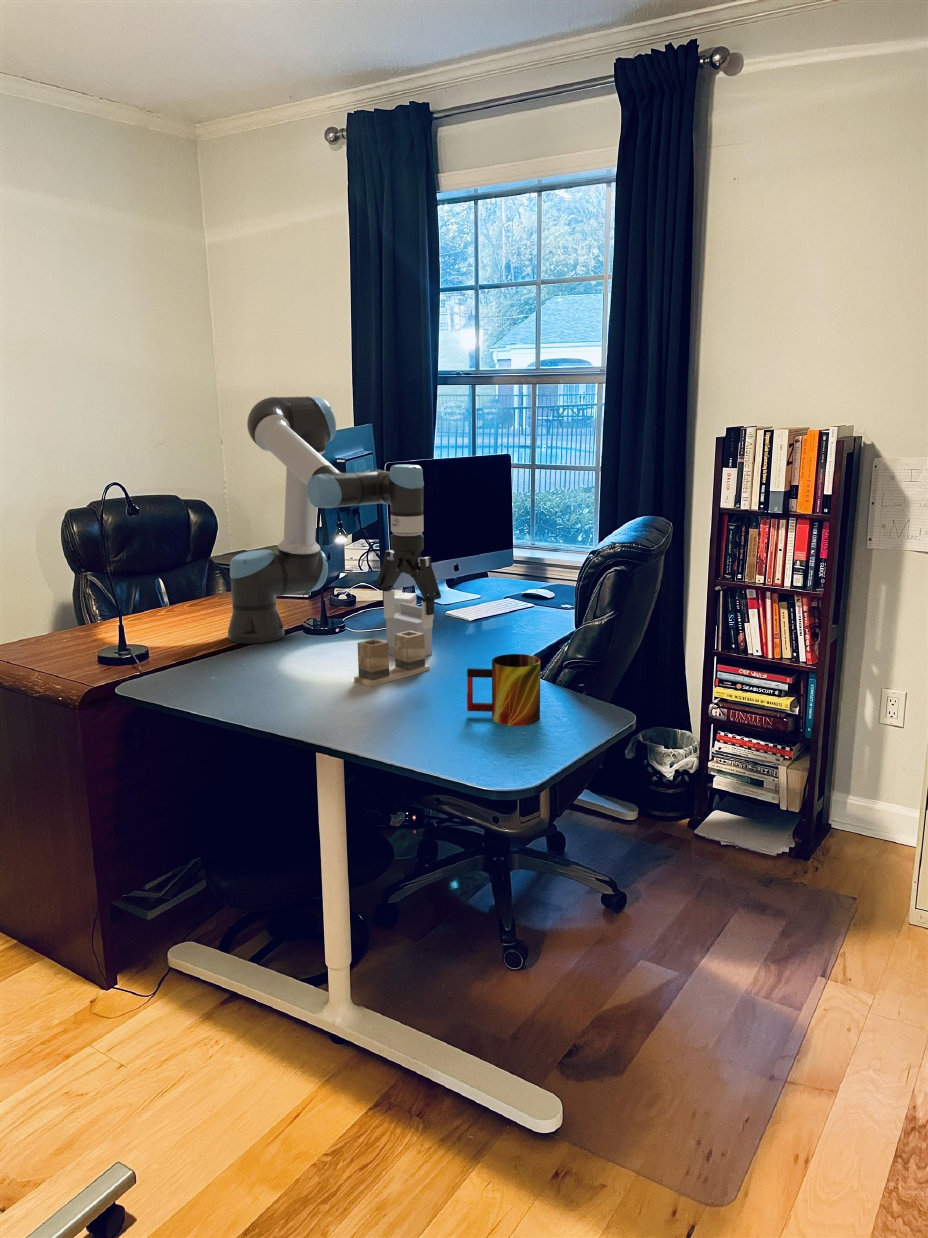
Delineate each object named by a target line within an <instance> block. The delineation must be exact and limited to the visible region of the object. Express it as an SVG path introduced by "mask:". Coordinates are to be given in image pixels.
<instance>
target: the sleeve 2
mask: <svg viewBox="0 0 928 1238" xmlns="http://www.w3.org/2000/svg"><path fill="white" fill-rule="evenodd" d="M394 637H395V656H394V663H395V664H394V666H395V667H398V668H402V669H405V670H408V671H410V670H414V669H417V668H421V667H425V665H426V656H425V641H424V634H423V633H419V632H415V631H411V630H409V631H405V632H401V633H397V634H394Z"/></svg>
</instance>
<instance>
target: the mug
mask: <svg viewBox="0 0 928 1238" xmlns="http://www.w3.org/2000/svg"><path fill="white" fill-rule="evenodd" d="M466 673H467V675H466V678H467V679H466V681H467V682H466V685H467V687H466V688H467V689H466V690H467V693H466V711H467V712H488V713H489V712H490V713H491V719H492V720H493V722H495V723H497V724H500V725H504V726H509V727H511V726H512V727H523V726H529V725H534V724H536V723H537V722H539V721H540V719H541V658H539V657H538V656H535V655H530V654H523V653H509V654H507V653H506V654H502V655H497V656H495V657H493V658H492V660H491V668H475V667H474V668H472V667H471V668H466ZM473 678H487V679H491V702H487V703H486V702H474V695H473V694H474V690H473V689H474V687H473V686H474V685H473V684H474V683H473V681H474V679H473Z"/></svg>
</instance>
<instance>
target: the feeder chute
mask: <svg viewBox="0 0 928 1238" xmlns="http://www.w3.org/2000/svg"><path fill="white" fill-rule="evenodd" d="M400 606H401V612H400V613H396V614H395V617H390V618H385V628H386V629H385V630H386V636H385V637H386V642H389V656H392V657H395V637H394V634H397V633H401V632H405V631H409V630H411V631H415V632H419V633H423V634H424V641H425V657H426V656H431V655H433V627H432V628H427V629H422V606H418V605H416V606H414V605H410V604H405V603H400ZM433 620H435V613H434V614H433Z"/></svg>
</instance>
